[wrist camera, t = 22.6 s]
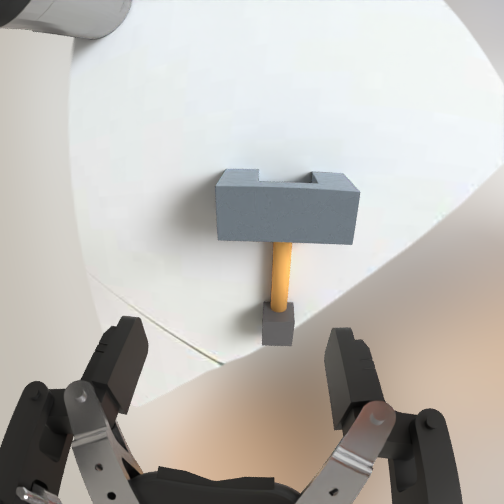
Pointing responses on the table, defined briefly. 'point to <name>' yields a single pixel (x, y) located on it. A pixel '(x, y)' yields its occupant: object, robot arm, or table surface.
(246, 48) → the table surface
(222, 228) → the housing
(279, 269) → the hammer
